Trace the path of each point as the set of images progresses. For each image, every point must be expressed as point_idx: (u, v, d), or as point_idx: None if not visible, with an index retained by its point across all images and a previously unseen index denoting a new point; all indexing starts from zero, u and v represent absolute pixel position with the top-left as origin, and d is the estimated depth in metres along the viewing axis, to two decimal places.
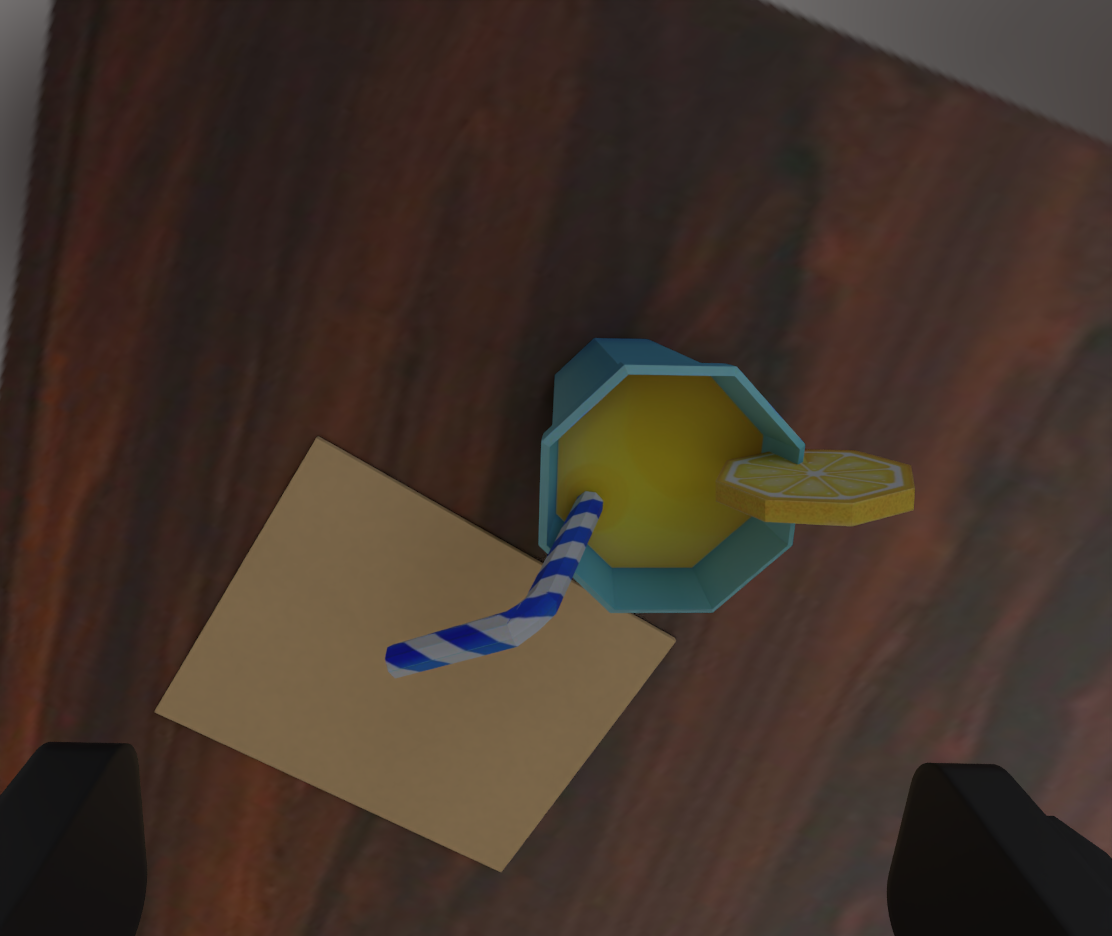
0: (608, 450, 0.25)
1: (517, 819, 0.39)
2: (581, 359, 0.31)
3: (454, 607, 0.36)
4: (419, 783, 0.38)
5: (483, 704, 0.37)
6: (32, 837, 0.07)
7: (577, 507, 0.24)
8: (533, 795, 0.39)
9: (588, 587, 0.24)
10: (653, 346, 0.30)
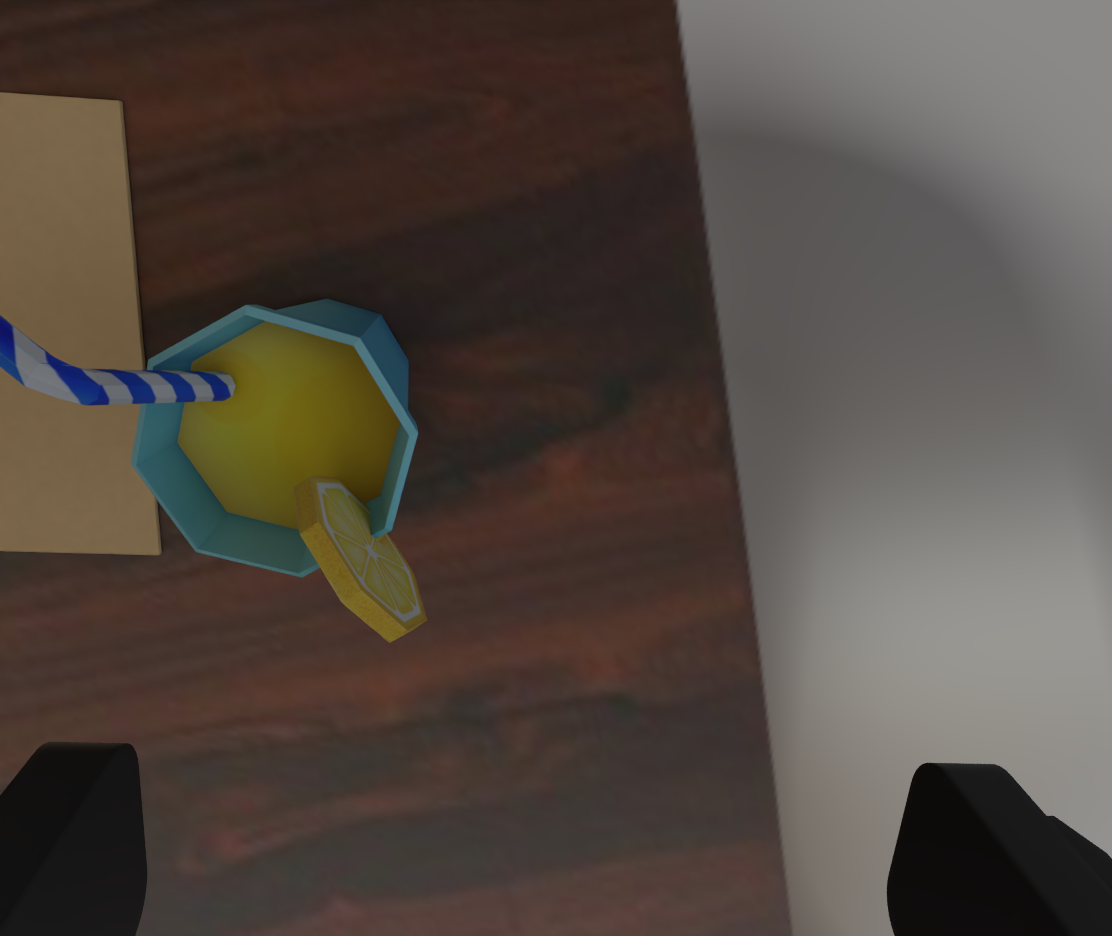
0: (280, 373, 0.25)
1: None
2: (353, 311, 0.31)
3: (42, 332, 0.32)
4: None
5: None
6: (32, 837, 0.07)
7: (209, 375, 0.23)
8: None
9: (139, 429, 0.23)
10: (402, 366, 0.31)
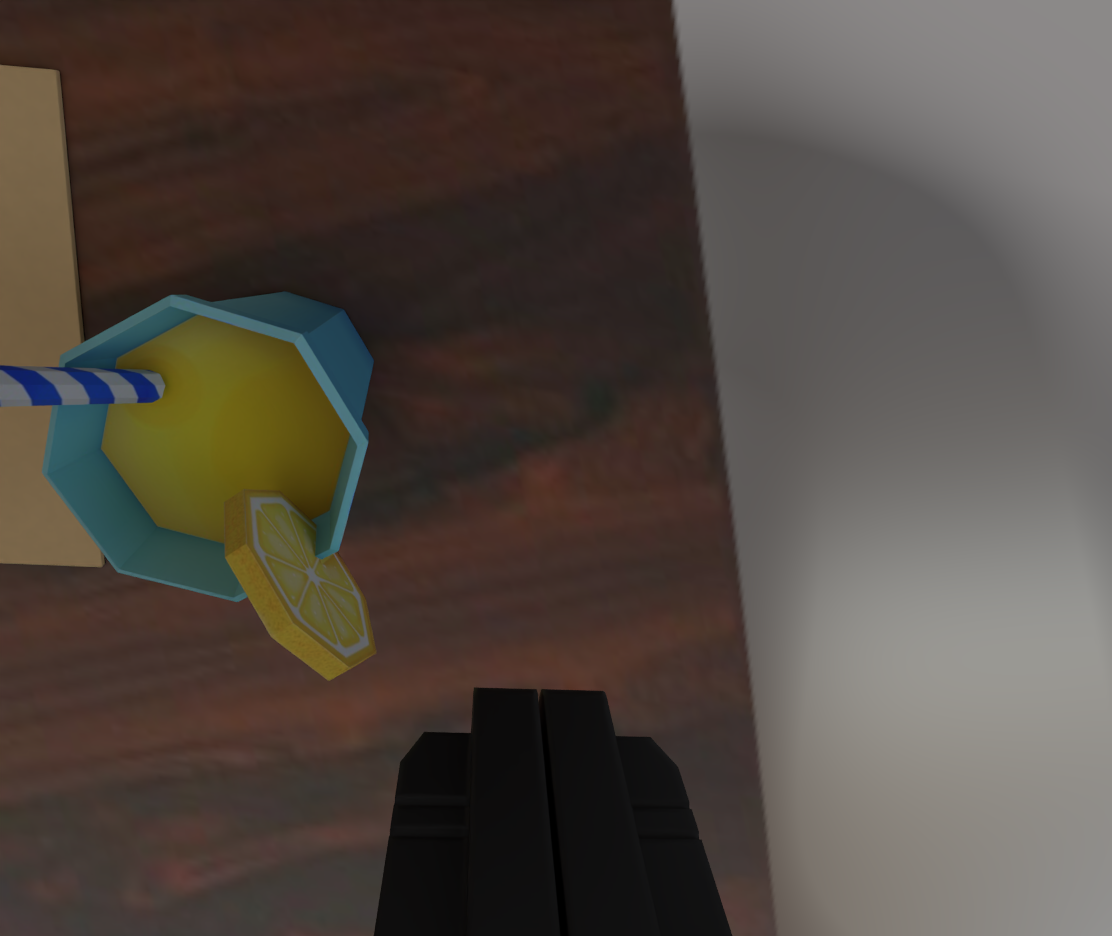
0: (217, 372, 0.22)
1: None
2: (311, 306, 0.28)
3: None
4: None
5: None
6: (522, 758, 0.08)
7: (132, 373, 0.21)
8: None
9: (51, 434, 0.20)
10: (364, 366, 0.28)
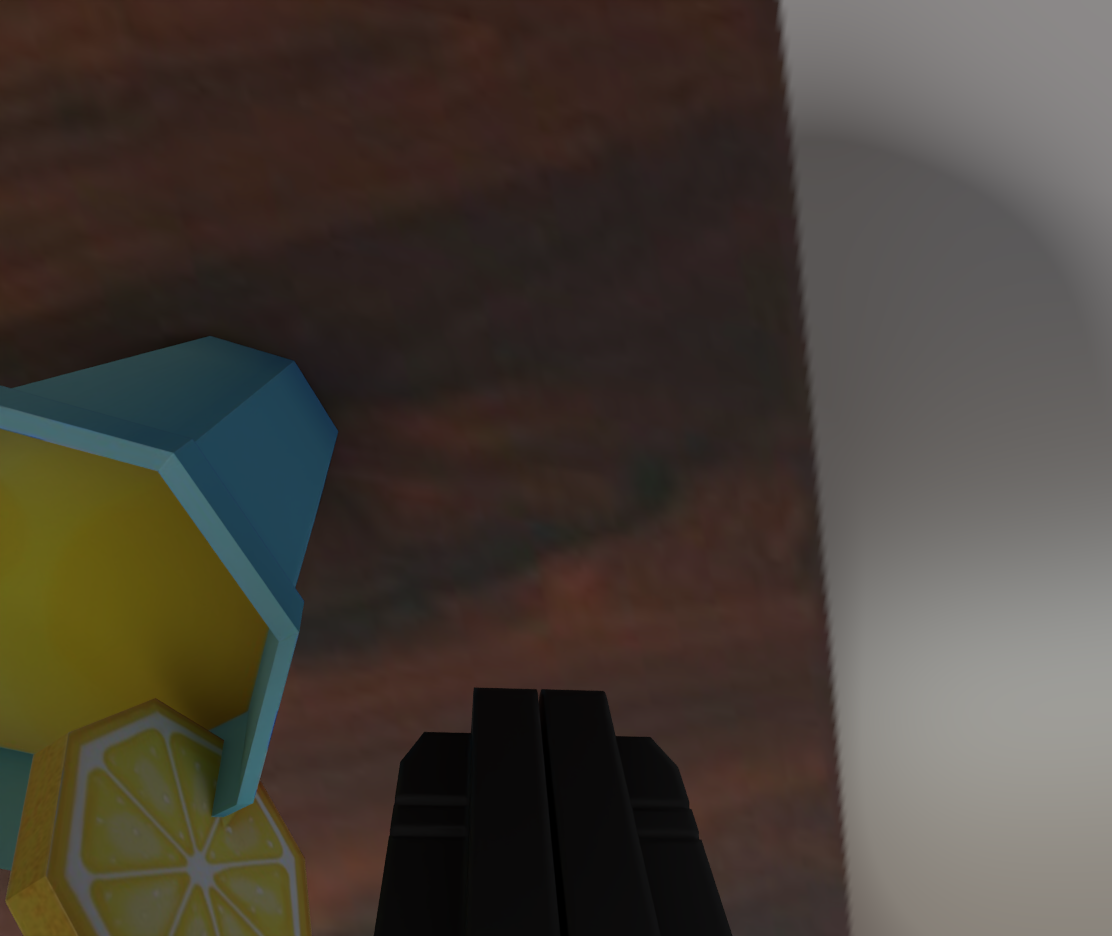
0: (49, 500, 0.13)
1: None
2: (241, 361, 0.19)
3: None
4: None
5: None
6: (523, 758, 0.08)
7: None
8: None
9: None
10: (318, 450, 0.19)
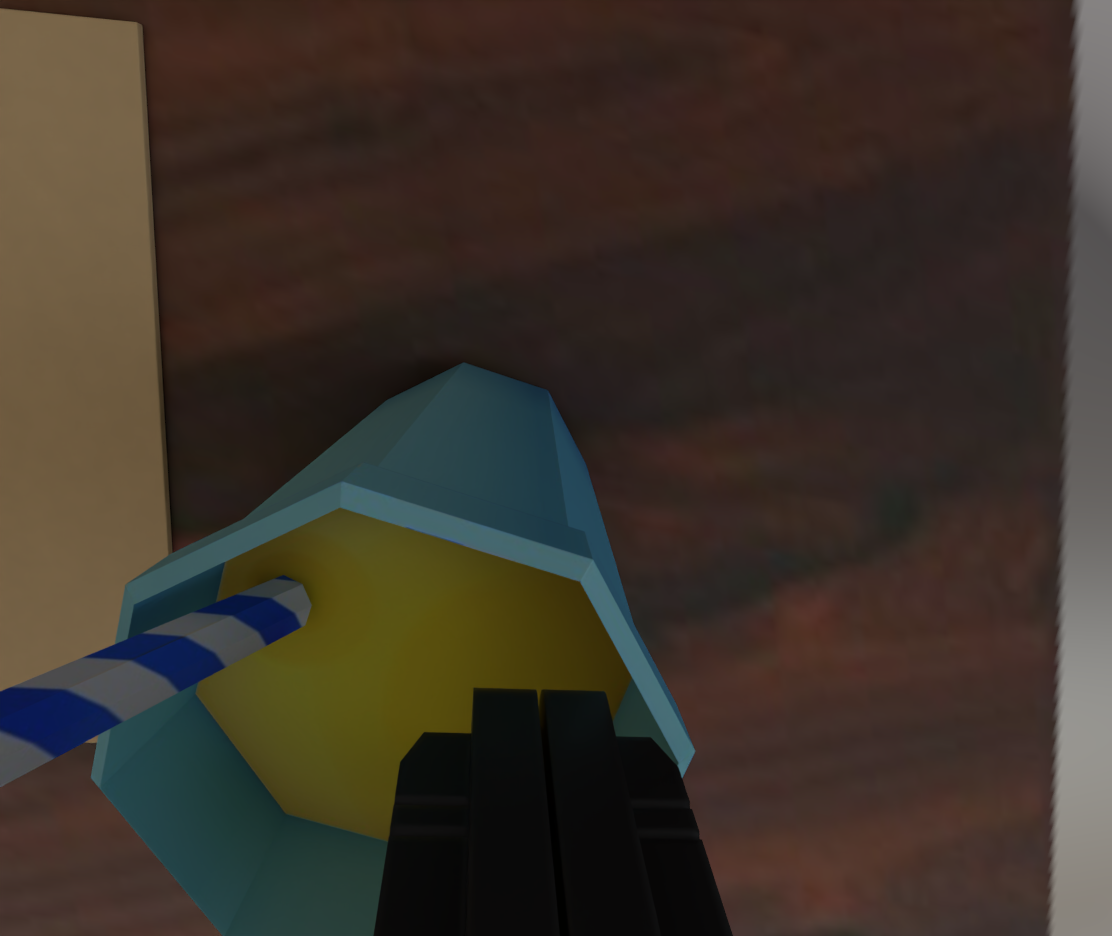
0: (403, 580, 0.12)
1: None
2: (512, 397, 0.18)
3: (0, 407, 0.19)
4: None
5: None
6: (522, 758, 0.08)
7: (257, 604, 0.11)
8: None
9: None
10: (591, 495, 0.18)
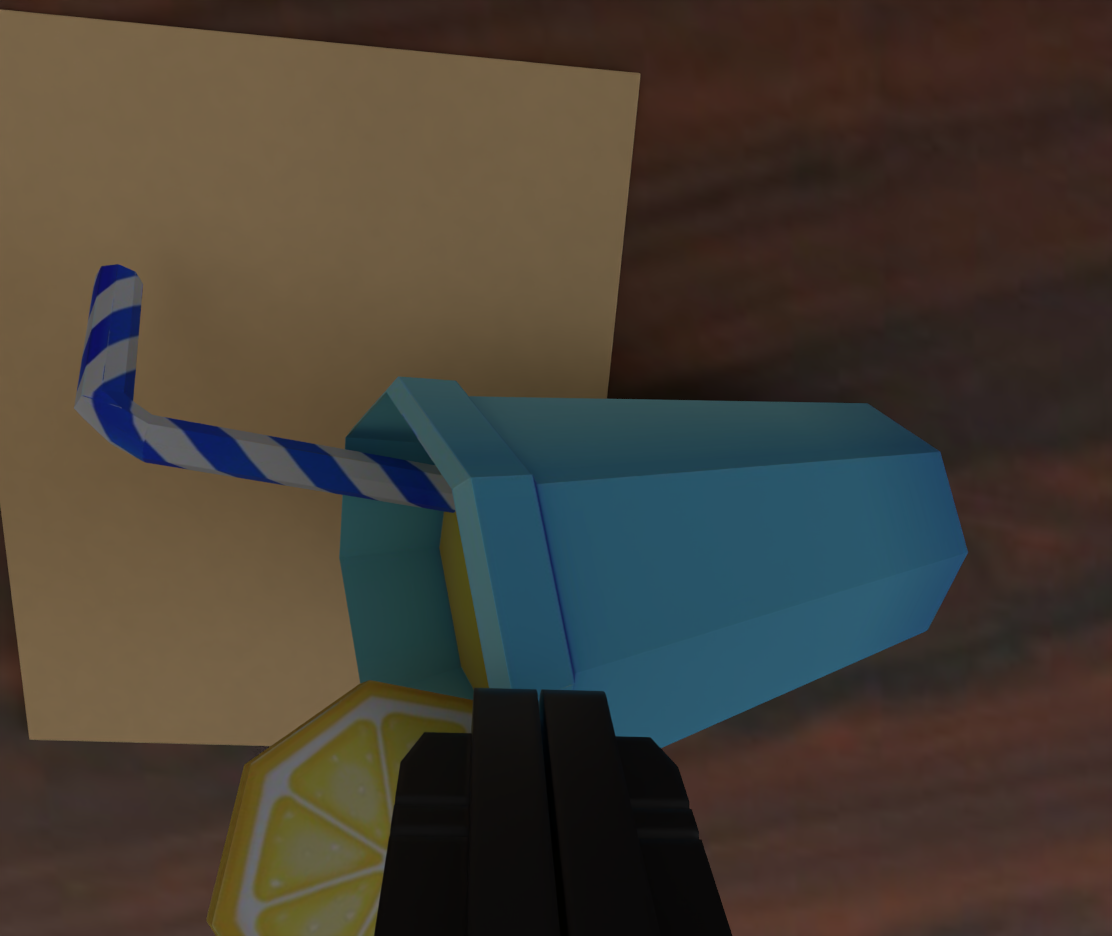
0: None
1: (143, 712, 0.22)
2: (844, 434, 0.17)
3: None
4: (108, 538, 0.21)
5: (315, 561, 0.21)
6: (522, 758, 0.08)
7: (407, 469, 0.16)
8: (201, 711, 0.22)
9: (343, 513, 0.17)
10: (872, 558, 0.16)
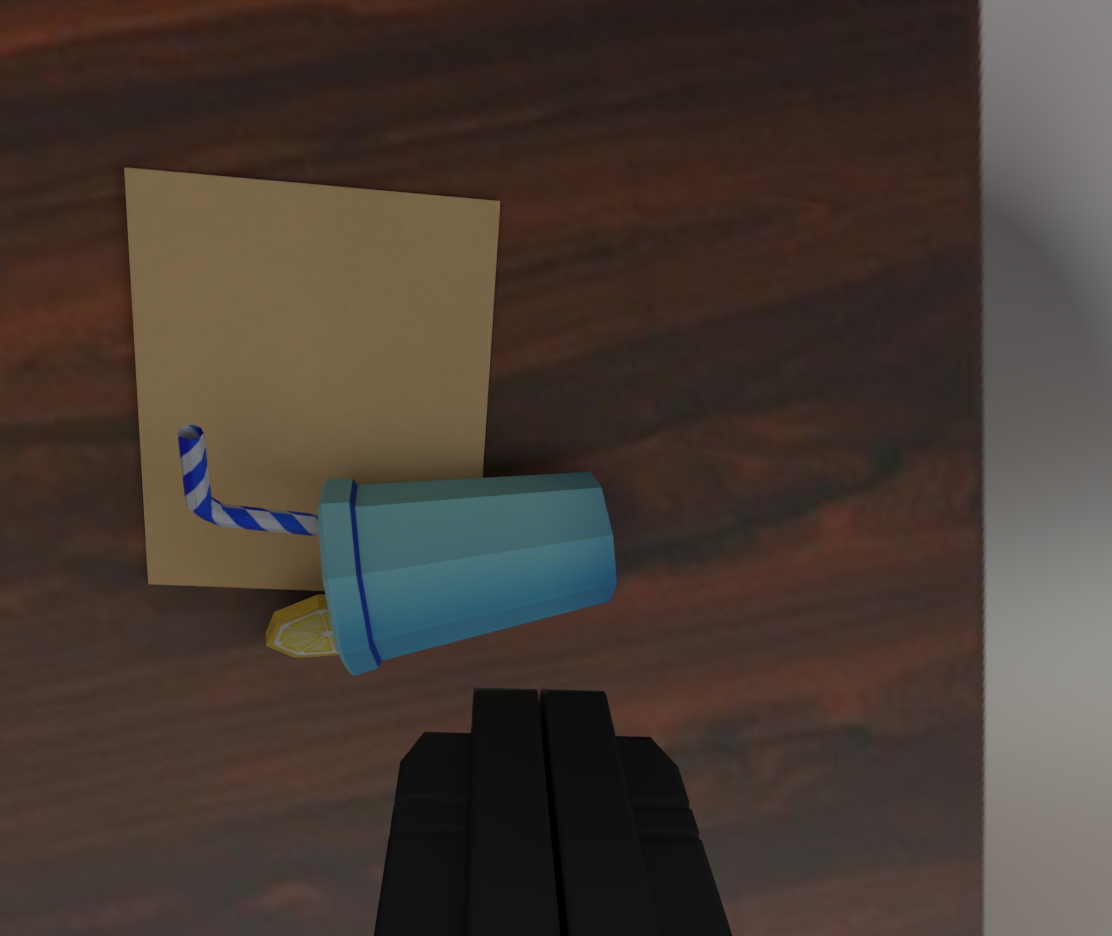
0: None
1: (216, 567, 0.37)
2: (565, 574, 0.33)
3: (403, 399, 0.36)
4: None
5: (321, 474, 0.36)
6: (523, 758, 0.08)
7: None
8: (251, 567, 0.37)
9: (322, 491, 0.33)
10: (544, 615, 0.35)
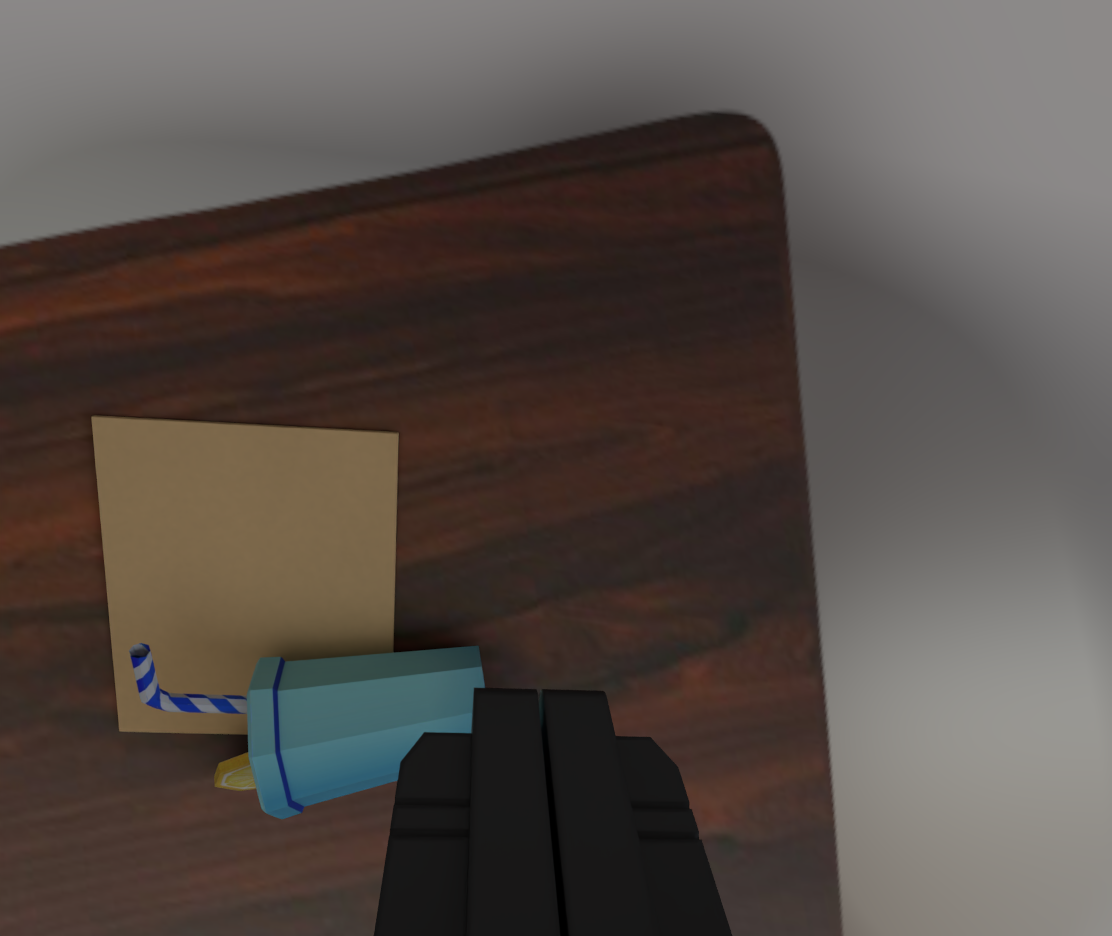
0: None
1: (175, 718, 0.45)
2: None
3: (324, 586, 0.43)
4: (159, 635, 0.44)
5: (258, 644, 0.44)
6: (523, 758, 0.08)
7: None
8: (204, 717, 0.45)
9: (254, 671, 0.41)
10: None
